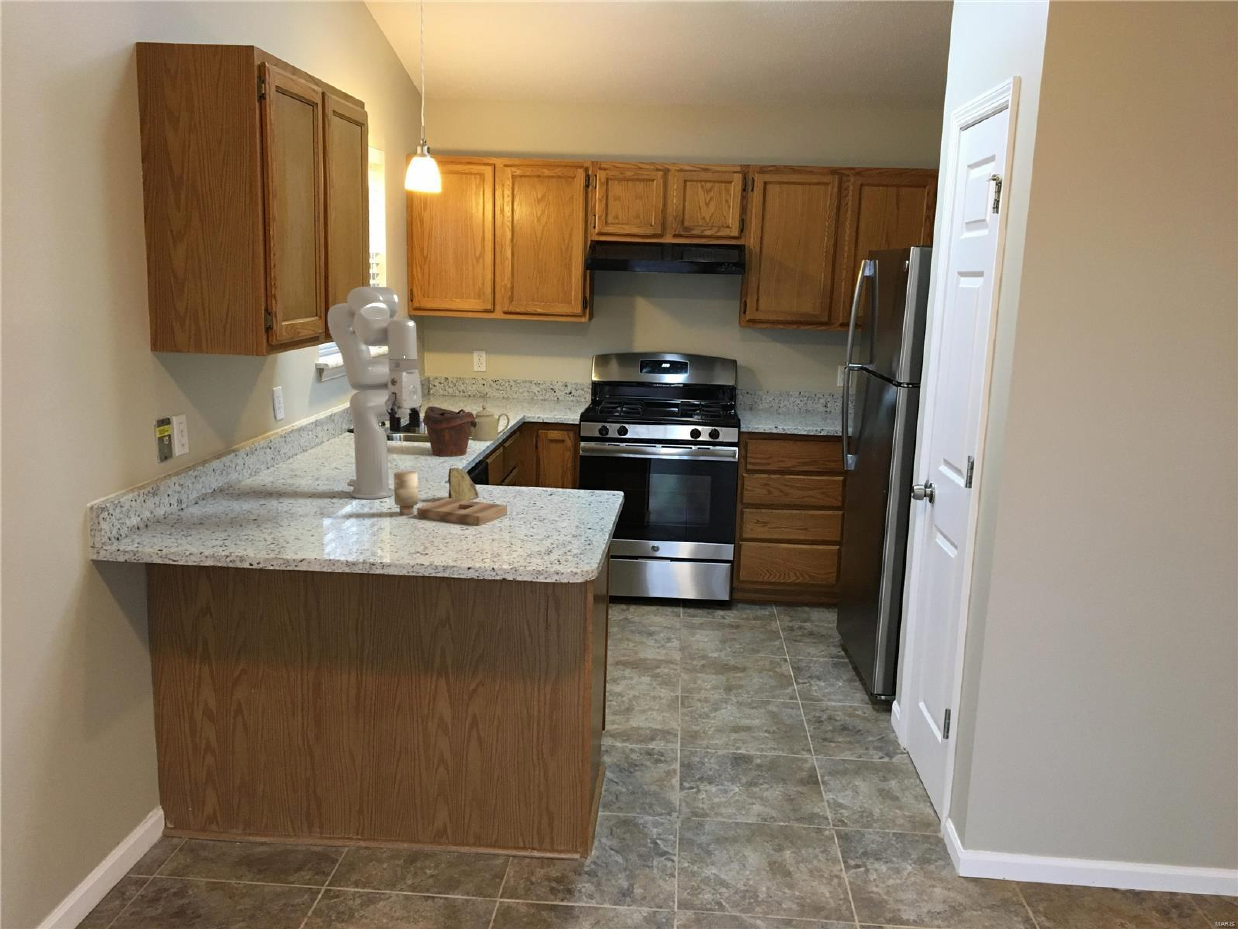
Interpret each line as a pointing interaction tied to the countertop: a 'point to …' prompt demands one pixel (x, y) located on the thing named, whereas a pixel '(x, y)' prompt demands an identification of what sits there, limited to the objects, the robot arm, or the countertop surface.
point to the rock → (461, 485)
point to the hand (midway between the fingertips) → (405, 429)
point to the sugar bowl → (487, 425)
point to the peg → (406, 491)
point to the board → (462, 511)
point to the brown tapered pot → (448, 430)
